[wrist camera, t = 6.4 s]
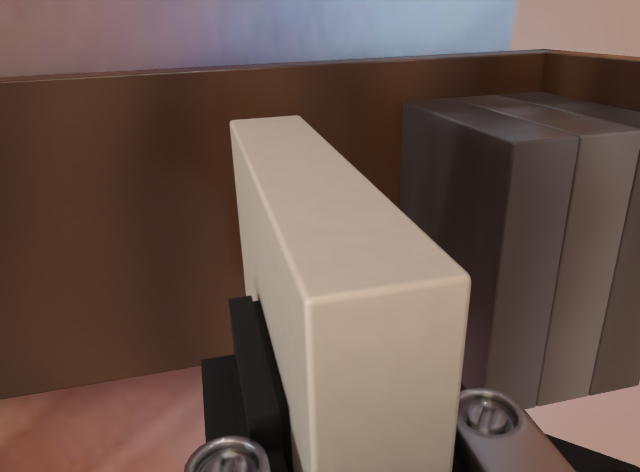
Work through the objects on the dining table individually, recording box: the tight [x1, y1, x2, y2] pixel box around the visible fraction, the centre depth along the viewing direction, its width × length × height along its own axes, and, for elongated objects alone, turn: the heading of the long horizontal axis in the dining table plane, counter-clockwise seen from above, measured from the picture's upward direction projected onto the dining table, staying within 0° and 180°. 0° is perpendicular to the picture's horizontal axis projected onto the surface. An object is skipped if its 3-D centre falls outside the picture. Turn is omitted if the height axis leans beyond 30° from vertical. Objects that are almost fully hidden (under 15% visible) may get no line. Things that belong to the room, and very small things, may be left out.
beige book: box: [230, 115, 471, 472], centre depth 12 cm, size 2×9×10 cm, turn 2°
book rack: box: [0, 49, 640, 409], centre depth 17 cm, size 32×12×9 cm, turn 92°
